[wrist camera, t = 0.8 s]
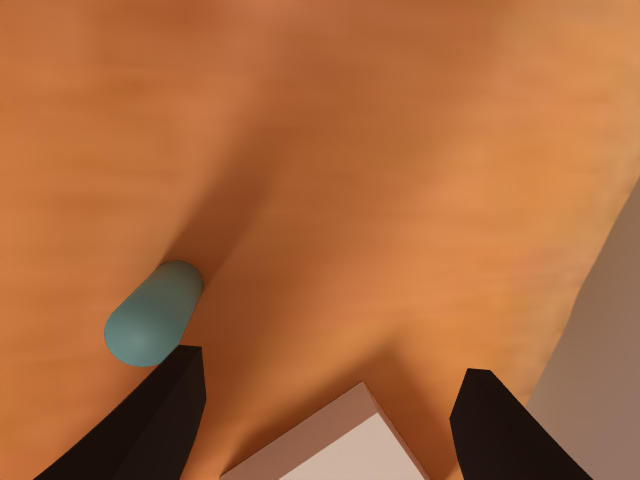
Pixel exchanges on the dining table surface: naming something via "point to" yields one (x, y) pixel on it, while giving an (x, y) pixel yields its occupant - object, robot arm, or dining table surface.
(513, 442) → the robot arm
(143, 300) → the dowel
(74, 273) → the dining table surface
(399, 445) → the socket block
